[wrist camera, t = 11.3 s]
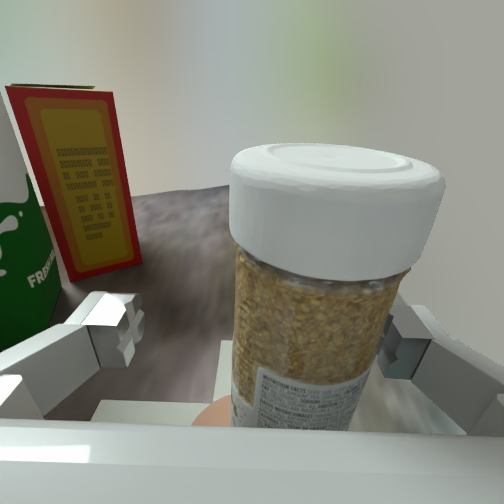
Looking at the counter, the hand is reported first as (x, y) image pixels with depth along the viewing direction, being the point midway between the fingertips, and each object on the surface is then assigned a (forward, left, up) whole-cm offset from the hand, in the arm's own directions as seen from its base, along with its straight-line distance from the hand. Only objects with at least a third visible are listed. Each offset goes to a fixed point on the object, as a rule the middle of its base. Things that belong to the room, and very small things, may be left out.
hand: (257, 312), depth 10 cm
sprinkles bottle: (+1, -1, -8) cm, 8 cm away
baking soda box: (-17, +19, -9) cm, 27 cm away
